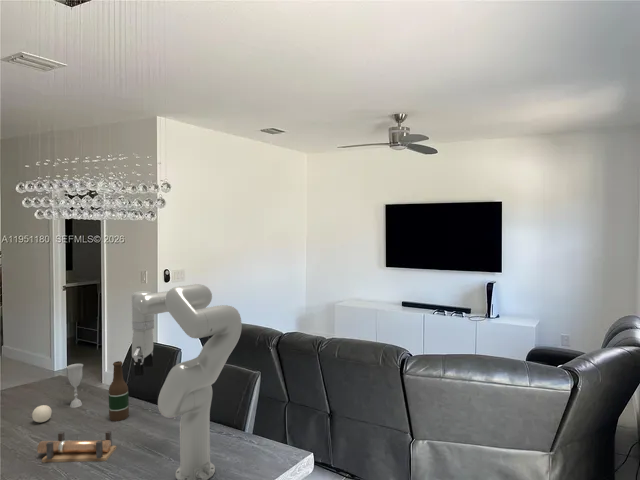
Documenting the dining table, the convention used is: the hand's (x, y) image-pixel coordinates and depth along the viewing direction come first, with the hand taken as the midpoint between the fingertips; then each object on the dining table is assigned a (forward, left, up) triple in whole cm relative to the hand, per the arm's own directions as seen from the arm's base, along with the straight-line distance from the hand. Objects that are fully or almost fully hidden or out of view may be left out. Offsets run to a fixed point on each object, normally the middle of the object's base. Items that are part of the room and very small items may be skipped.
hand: (144, 370), depth 170 cm
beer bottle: (+32, -1, -28) cm, 43 cm away
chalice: (+59, +9, -28) cm, 66 cm away
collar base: (+9, +20, -28) cm, 36 cm away
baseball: (+50, +24, -28) cm, 62 cm away
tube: (+10, +22, -27) cm, 36 cm away
